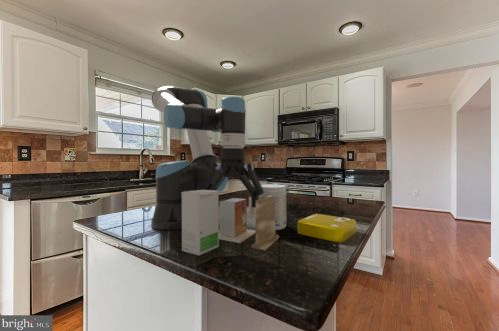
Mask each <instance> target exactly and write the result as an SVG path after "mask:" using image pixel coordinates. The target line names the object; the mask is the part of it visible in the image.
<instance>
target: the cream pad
mask: <svg viewBox="0 0 499 331" xmlns="http://www.w3.org/2000/svg"><path fill="white" fill-rule="evenodd" d="M253 235H256V229H255V230H254V229H253V230H252V229H248V228H247V231H245V232H243V233H241V234H239V235H237V236H236V237H231V236H225V235H220V229H219V241H220V240H221V241H226V242H233V243H237V244H242V243H243V242H244V241H246V240H247V239H249V238H250V237H253Z"/></svg>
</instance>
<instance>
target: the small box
mask: <svg viewBox="0 0 499 331" xmlns="http://www.w3.org/2000/svg"><path fill="white" fill-rule="evenodd" d="M247 201H248V200H247V198H238V197H231V198H228V199H225V200H220V201H219V230H220V235H225V236H231V237H236V236H237V235H239V234H241V233H243V232H245V231H247V229H248V228H247V226H248V225H247V223H248V221H247V220H248V219H247V217H248V215H247V213H248V212H247V209H248V207H247V206H248V205H247V204H248V202H247Z"/></svg>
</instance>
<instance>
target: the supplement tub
mask: <svg viewBox="0 0 499 331" xmlns="http://www.w3.org/2000/svg"><path fill="white" fill-rule="evenodd" d="M261 187H262V189H263V191H264V193H263V194H261V195H258V199H261V198H264V197H266V196H269V195H275V231H280V230H283V229H285V228H286V226H287V187H286V185H285V184H274V183H273V184H271V183H269V184H261Z"/></svg>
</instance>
